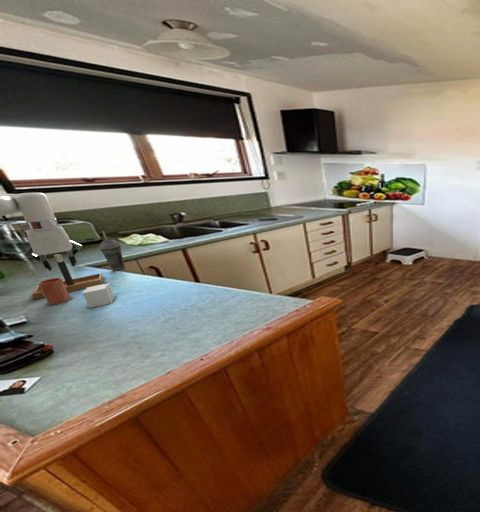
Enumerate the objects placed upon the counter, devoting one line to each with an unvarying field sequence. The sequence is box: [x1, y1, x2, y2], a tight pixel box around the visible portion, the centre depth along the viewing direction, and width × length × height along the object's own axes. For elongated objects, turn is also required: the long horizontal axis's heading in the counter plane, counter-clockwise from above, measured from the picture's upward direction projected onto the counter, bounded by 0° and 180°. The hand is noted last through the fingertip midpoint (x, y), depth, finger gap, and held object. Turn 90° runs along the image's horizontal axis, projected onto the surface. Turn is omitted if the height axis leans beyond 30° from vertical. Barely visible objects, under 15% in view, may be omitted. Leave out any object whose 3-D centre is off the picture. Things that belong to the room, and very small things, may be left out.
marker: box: [53, 253, 75, 286], centre depth 113 cm, size 2×2×14 cm
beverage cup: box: [99, 230, 126, 273], centre depth 131 cm, size 7×7×20 cm
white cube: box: [82, 282, 115, 309], centre depth 101 cm, size 6×6×6 cm
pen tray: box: [31, 272, 104, 300], centre depth 115 cm, size 19×10×2 cm, turn 134°
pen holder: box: [37, 277, 72, 305], centre depth 102 cm, size 6×6×8 cm
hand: (62, 267), depth 112 cm, fingers open, 5 cm apart
